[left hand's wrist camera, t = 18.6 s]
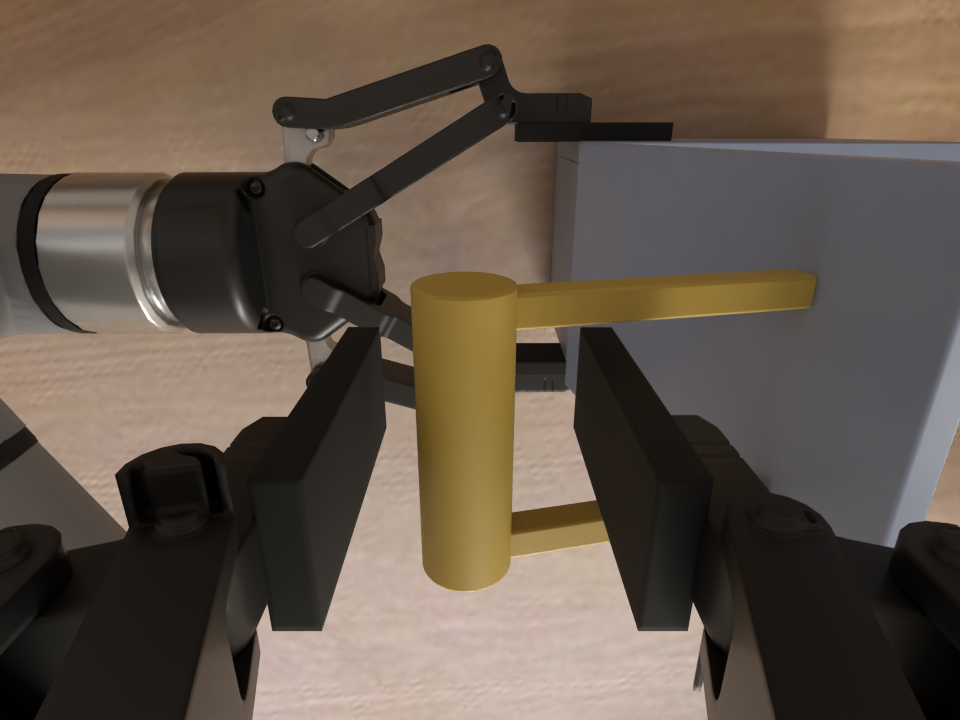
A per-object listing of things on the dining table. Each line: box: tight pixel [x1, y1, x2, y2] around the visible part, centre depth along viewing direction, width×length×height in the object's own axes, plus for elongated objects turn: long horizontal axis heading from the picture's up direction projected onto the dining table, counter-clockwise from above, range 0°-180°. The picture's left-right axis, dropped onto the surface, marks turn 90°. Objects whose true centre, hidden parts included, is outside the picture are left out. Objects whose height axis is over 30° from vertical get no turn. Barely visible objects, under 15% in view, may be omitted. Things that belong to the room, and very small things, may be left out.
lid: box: [410, 142, 960, 592], centre depth 16 cm, size 16×10×9 cm
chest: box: [551, 138, 960, 360], centre depth 29 cm, size 15×10×10 cm
